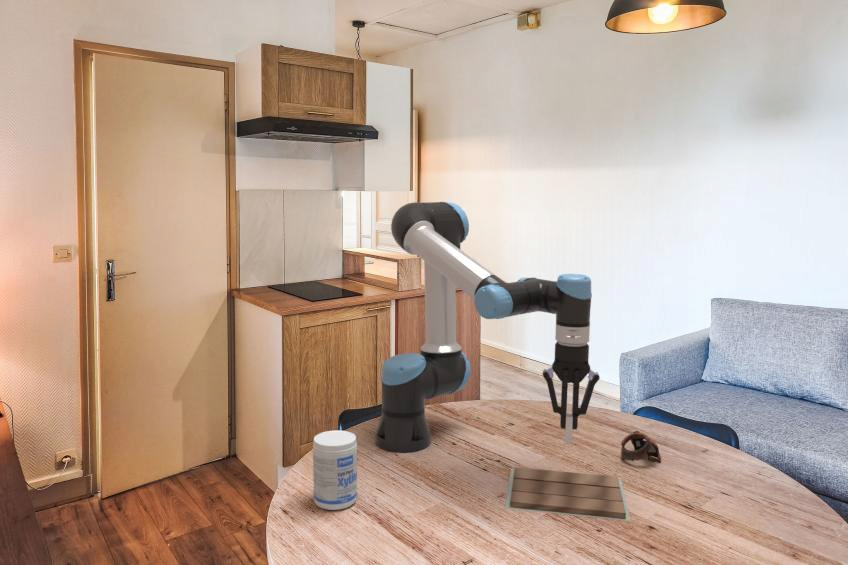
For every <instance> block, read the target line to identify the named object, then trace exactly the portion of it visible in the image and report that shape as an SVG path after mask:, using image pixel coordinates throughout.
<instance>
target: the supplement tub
mask: <svg viewBox="0 0 848 565" xmlns="http://www.w3.org/2000/svg"><path fill="white" fill-rule="evenodd" d="M312 456H313V457H312V460H313V462H312V463H313V464H312V465H313V467H312V468H313V469H312V470H313V472H312V473H313V476H312V477H313V502H314V504H315V505H316V506H317V507H319V508H321V509H323V510H329V511H338V510H344V509H348V508H349V507H351V506H352V505H354V504H355V503H356V500H357V497H358V484H357V483H358V467H357V466H358V463H357V462H358V459H357V458H358V444H357V435H356V434H354V433H353V432H350V431H347V430H340V429H339V430H328V431H322V432H320V433H318V434H316V435H315V436H314V437H313V444H312Z"/></svg>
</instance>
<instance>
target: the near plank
mask: <svg viewBox="0 0 848 565" xmlns="http://www.w3.org/2000/svg"><path fill="white" fill-rule="evenodd" d="M512 491H518V492H528V493H539V494H549V495H559V496H569V497H579V498H590V499H600V500H610V501H620V502H623V498H622V494H621V490H620V489H618V488H607V487H596V486H586V485H575V484H565V483H554V482H543V481H533V480H522V479H513V485H512Z"/></svg>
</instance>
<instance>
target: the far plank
mask: <svg viewBox="0 0 848 565" xmlns="http://www.w3.org/2000/svg"><path fill="white" fill-rule="evenodd" d="M513 470H514V478H513V479H522V480H533V481H543V482H554V483H565V484H575V485H586V486H596V487H607V488H618V489H620V485H619V481H618V479H619V478H618V476H615V475H604V474H594V473H582V472H581V473H580V472H572V471H571V472H570V471H560V470H552V469H550V470H549V469H548V470H547V469H538V468H529V467H528V468H527V467H526V468H525V467H517V466H516V467H514V469H513Z"/></svg>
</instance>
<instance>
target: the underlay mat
mask: <svg viewBox="0 0 848 565" xmlns="http://www.w3.org/2000/svg"><path fill="white" fill-rule="evenodd" d="M514 470H515V469H510V472H509V474H510V475H509V480H508V487H507V488H508V489H507V492H506V494H507V495H506V500H505V509H513V510H521V511H530V512H539V513H548V514H549V513H550V514H558V515H568V516H579V517H586V518H596V519H597V518H598V519H607V520H616V521H626V522H627V521H628V522H631V521H632V520H631V517H630V512H629V507H628V504H627V500H626V495H625V492H624V491H625V490H624V487H623V482H622V481H623V480H622V479H620V478H618V481H619V485H620V490H621V494H622V498H623V503H624V507H625V512H626V518H616V517H606V516H596V515H587V514H577V513H567V512H557V511H548V510H538V509H528V508H518V507H510V500H511V492H512V485H513V478H514Z"/></svg>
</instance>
